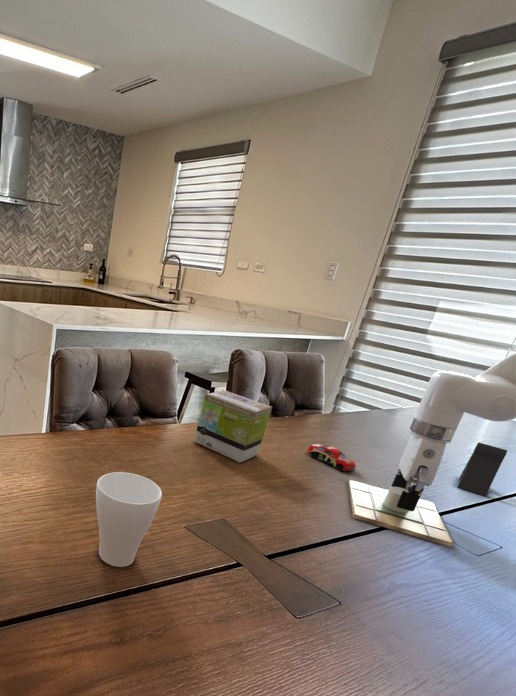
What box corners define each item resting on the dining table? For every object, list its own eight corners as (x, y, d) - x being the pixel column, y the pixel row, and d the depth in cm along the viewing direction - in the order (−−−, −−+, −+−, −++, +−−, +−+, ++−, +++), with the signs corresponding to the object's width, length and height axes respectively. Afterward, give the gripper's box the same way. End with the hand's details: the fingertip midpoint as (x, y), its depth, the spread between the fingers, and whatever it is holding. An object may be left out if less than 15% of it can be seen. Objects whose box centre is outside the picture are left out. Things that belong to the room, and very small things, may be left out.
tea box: (192, 442, 133) (204, 393, 127) (210, 436, 139) (223, 388, 134) (240, 463, 123) (256, 411, 117) (258, 455, 130) (273, 405, 124)
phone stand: (459, 478, 132) (478, 438, 127) (486, 486, 128) (507, 446, 124) (456, 487, 125) (477, 446, 121) (485, 496, 122) (507, 455, 117)
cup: (155, 575, 77) (172, 505, 71) (93, 577, 75) (105, 504, 69) (136, 537, 86) (150, 472, 81) (80, 537, 84) (90, 471, 79)
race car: (358, 472, 127) (363, 459, 126) (345, 474, 125) (350, 461, 123) (316, 451, 138) (320, 439, 136) (303, 453, 135) (308, 440, 134)
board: (431, 506, 113) (433, 501, 112) (451, 547, 96) (454, 542, 96) (348, 483, 120) (349, 479, 119) (353, 518, 103) (355, 513, 102)
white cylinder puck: (406, 506, 109) (413, 491, 107) (410, 515, 104) (417, 500, 103) (381, 499, 111) (388, 484, 109) (384, 508, 106) (391, 492, 105)
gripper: (463, 447, 91) (428, 522, 98) (443, 423, 106) (413, 489, 112) (418, 437, 94) (387, 510, 101) (404, 415, 109) (378, 480, 115)
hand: (401, 499), depth 106 cm, fingers open, 9 cm apart
